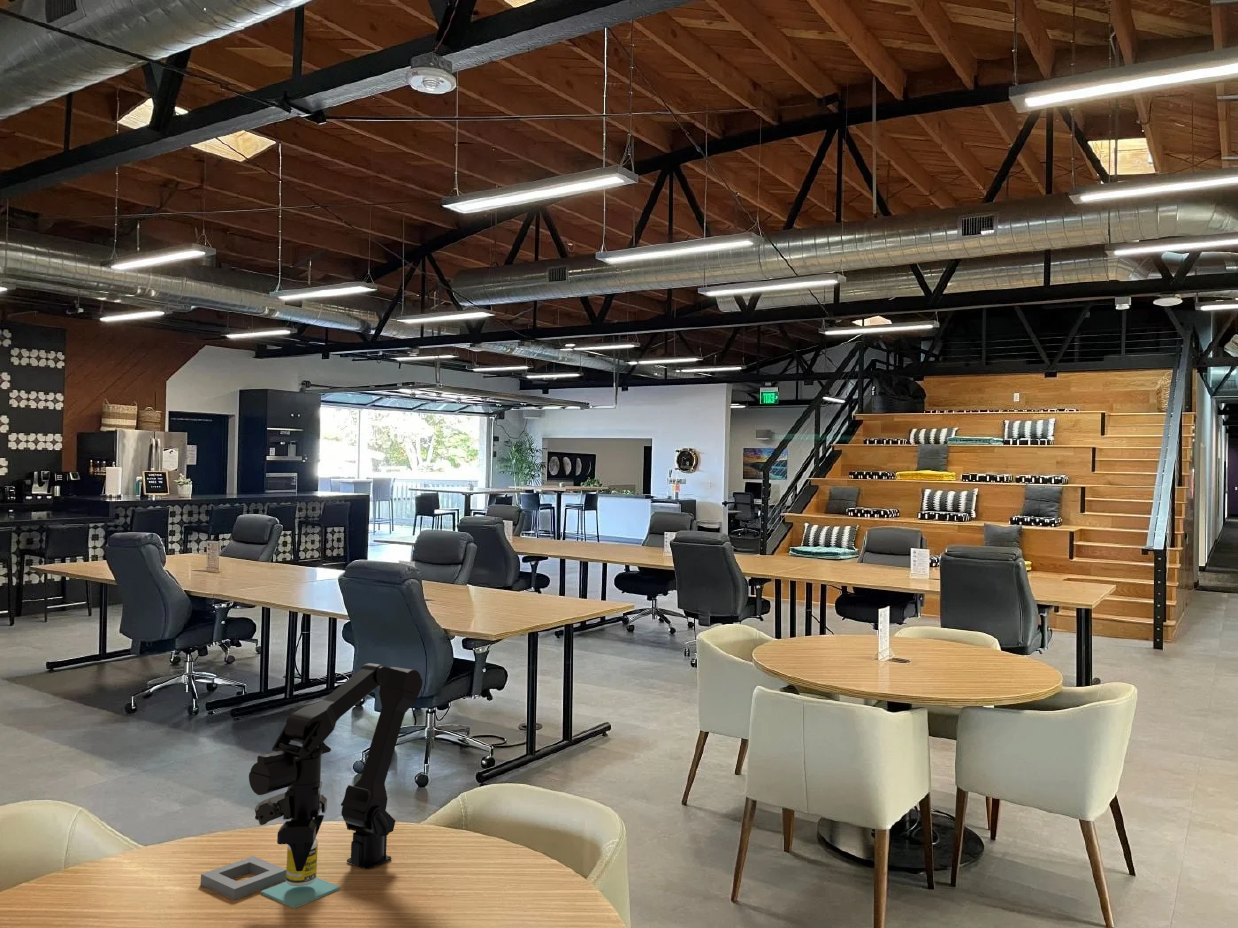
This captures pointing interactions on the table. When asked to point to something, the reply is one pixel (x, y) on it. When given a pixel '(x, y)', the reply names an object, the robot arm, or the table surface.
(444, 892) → the table surface
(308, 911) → the table surface
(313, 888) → the mat
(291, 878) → the supplement bottle
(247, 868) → the socket block
